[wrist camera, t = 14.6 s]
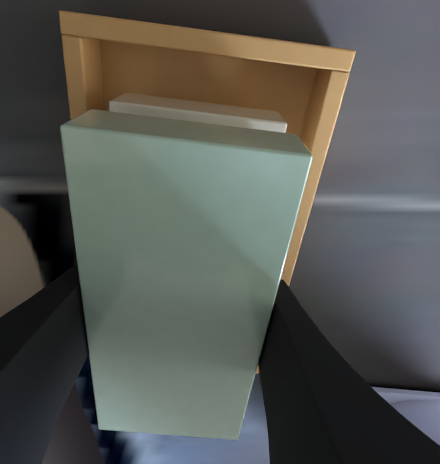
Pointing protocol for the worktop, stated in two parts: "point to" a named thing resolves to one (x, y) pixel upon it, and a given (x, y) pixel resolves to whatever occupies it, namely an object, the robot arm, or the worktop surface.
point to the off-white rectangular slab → (198, 112)
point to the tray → (210, 79)
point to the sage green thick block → (178, 262)
